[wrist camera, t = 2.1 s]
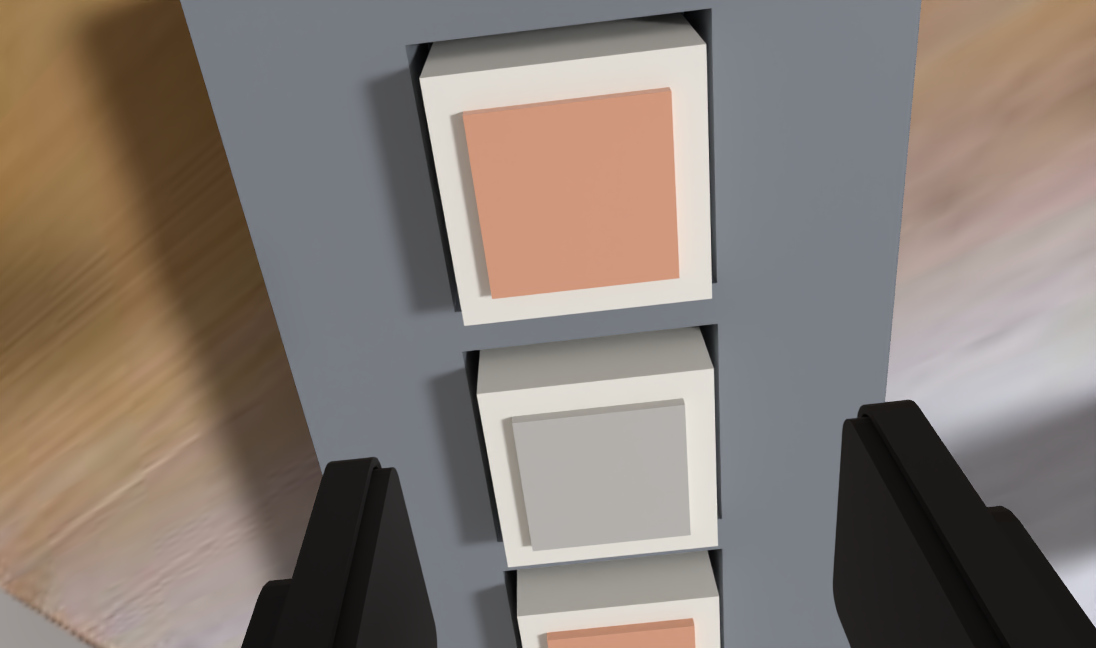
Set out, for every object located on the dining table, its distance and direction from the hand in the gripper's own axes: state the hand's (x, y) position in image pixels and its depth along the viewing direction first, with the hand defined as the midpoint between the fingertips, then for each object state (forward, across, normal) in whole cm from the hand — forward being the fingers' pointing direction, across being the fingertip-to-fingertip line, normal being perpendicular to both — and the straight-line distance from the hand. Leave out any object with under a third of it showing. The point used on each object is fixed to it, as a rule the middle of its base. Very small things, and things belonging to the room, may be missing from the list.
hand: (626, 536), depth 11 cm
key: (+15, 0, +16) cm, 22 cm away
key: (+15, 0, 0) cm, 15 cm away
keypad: (+17, 0, +8) cm, 19 cm away
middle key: (+15, 0, +8) cm, 17 cm away
